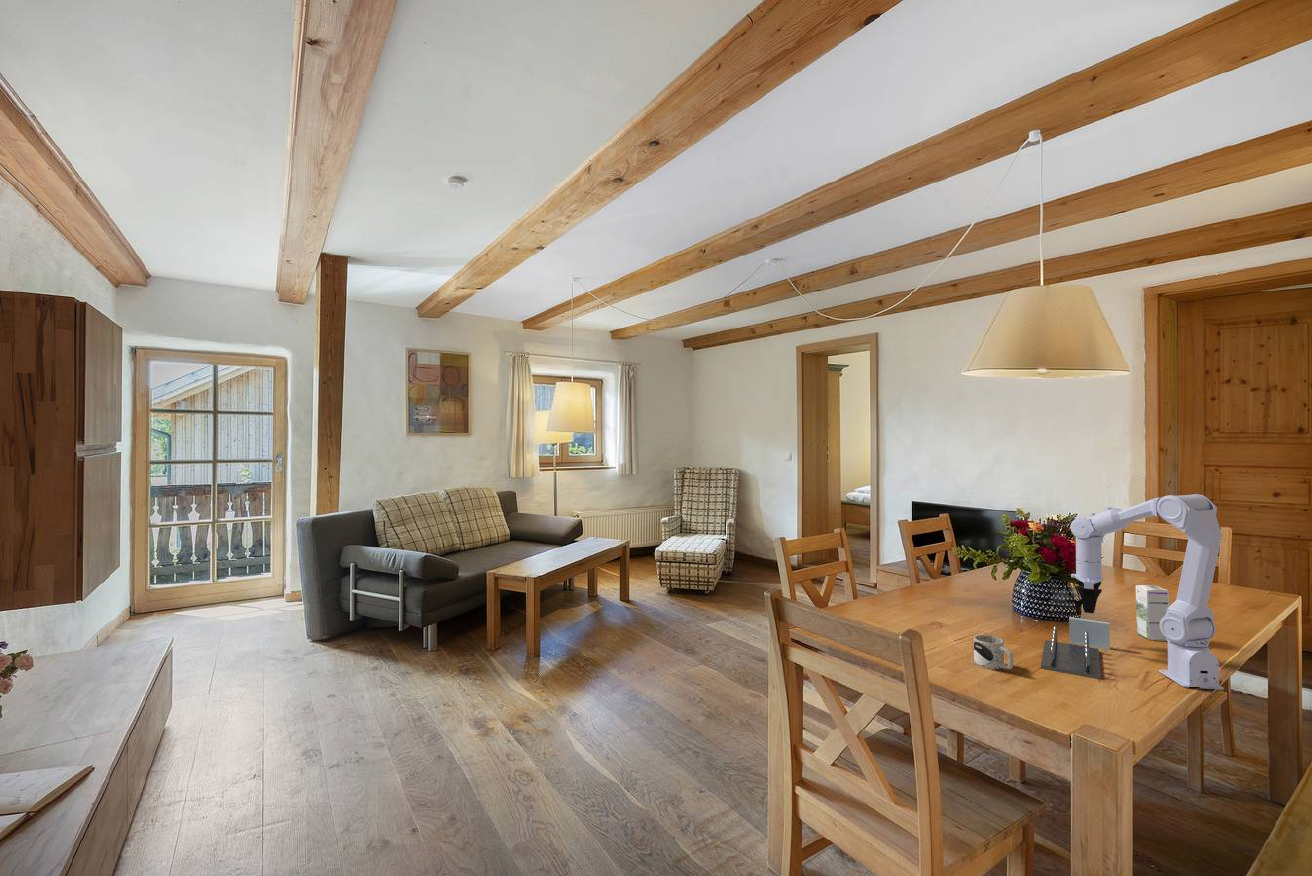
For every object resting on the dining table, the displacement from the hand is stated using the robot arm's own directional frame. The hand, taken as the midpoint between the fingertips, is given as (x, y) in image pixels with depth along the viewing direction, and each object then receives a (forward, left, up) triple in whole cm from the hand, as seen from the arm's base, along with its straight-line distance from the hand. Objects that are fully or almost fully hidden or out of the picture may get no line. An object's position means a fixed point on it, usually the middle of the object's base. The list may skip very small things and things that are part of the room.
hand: (1088, 609), depth 163 cm
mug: (-22, +31, -10) cm, 39 cm away
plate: (0, 0, -10) cm, 10 cm away
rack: (-13, +10, -10) cm, 19 cm away
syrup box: (+10, -21, -10) cm, 26 cm away
